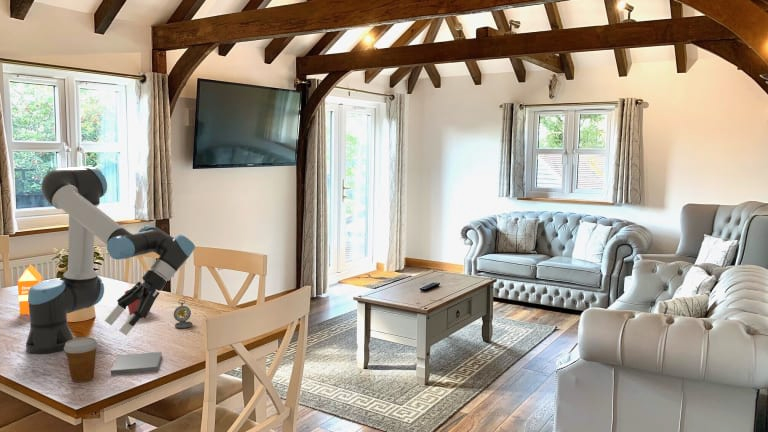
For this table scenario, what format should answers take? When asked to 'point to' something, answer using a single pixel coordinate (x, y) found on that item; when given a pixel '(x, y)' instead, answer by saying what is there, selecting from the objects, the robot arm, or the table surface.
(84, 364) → the disposable coffee cup
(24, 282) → the orange juice
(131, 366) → the slate tile
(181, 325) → the pocket watch
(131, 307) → the flower pot
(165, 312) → the table surface
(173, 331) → the table surface
